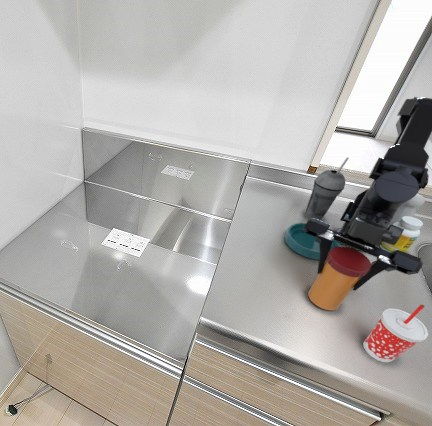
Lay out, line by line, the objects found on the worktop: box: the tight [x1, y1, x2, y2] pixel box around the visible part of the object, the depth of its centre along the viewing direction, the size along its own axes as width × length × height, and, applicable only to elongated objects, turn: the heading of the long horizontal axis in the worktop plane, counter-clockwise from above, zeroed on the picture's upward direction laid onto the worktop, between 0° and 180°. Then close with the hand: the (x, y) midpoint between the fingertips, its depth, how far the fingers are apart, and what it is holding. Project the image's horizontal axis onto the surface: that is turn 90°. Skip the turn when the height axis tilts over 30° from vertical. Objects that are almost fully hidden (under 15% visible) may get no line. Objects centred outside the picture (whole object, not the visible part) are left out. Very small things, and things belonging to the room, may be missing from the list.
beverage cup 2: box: [362, 304, 429, 363], centre depth 52 cm, size 6×6×14 cm
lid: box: [326, 245, 372, 277], centre depth 57 cm, size 7×7×2 cm
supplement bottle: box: [379, 216, 424, 253], centre depth 75 cm, size 5×5×10 cm
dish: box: [284, 222, 341, 261], centre depth 78 cm, size 12×12×3 cm
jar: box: [307, 260, 361, 311], centre depth 61 cm, size 6×6×12 cm
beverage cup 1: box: [304, 157, 350, 221], centre depth 83 cm, size 7×7×20 cm
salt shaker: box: [388, 193, 426, 227], centre depth 78 cm, size 6×6×13 cm
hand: (335, 281), depth 60 cm, fingers closed on jar, 6 cm apart
